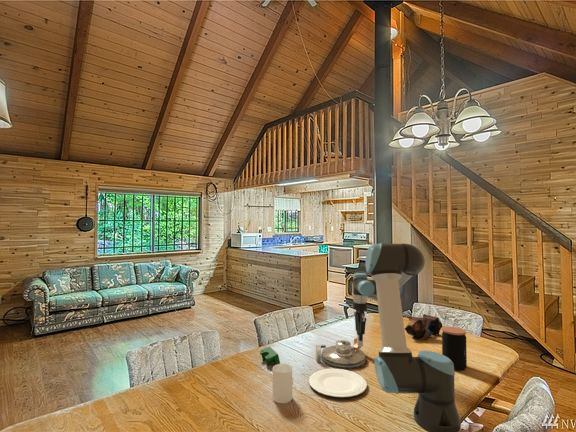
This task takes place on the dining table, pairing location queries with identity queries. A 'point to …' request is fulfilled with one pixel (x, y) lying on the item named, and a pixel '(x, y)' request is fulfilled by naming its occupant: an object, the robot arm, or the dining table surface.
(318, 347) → the turntable base
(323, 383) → the plate
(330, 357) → the turntable
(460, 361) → the coffee jar
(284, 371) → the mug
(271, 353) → the clamp
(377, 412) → the dining table surface
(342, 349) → the cover
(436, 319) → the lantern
